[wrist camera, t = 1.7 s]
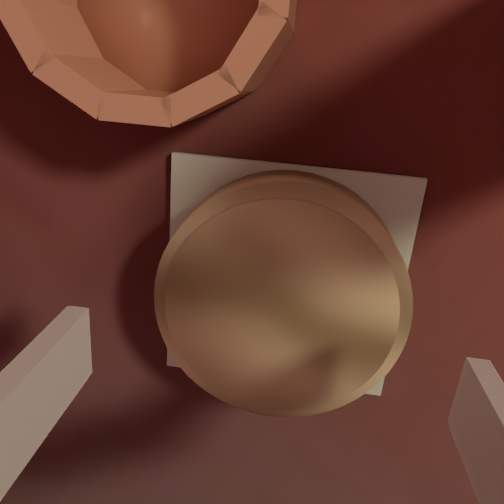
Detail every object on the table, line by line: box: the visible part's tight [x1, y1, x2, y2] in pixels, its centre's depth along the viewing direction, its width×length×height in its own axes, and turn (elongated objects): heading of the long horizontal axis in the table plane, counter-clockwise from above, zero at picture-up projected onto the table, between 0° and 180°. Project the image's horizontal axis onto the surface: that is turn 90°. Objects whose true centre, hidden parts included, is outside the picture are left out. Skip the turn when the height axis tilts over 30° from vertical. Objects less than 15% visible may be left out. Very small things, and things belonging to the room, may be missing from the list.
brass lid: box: [154, 170, 413, 417], centre depth 23 cm, size 12×12×4 cm
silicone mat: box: [167, 152, 428, 396], centre depth 24 cm, size 12×12×1 cm
